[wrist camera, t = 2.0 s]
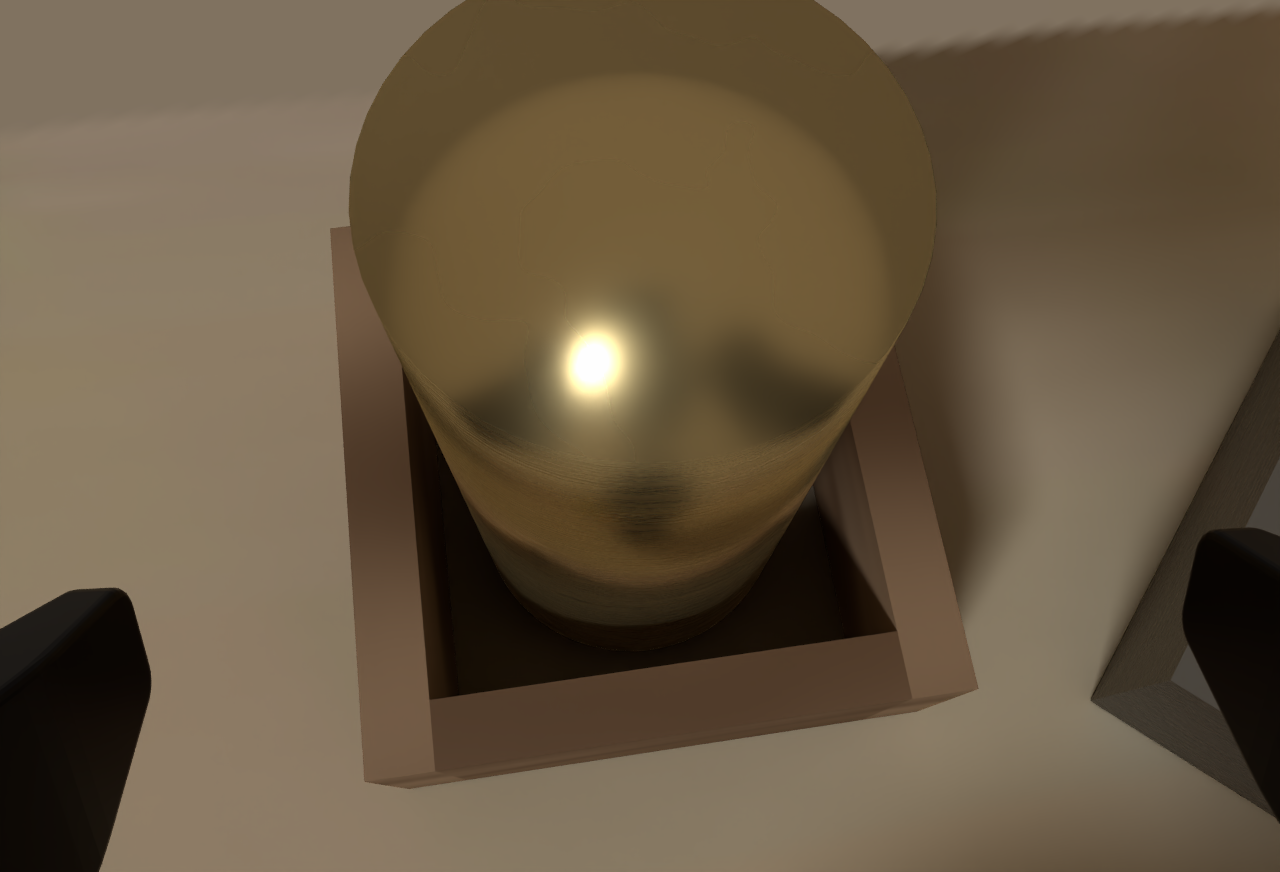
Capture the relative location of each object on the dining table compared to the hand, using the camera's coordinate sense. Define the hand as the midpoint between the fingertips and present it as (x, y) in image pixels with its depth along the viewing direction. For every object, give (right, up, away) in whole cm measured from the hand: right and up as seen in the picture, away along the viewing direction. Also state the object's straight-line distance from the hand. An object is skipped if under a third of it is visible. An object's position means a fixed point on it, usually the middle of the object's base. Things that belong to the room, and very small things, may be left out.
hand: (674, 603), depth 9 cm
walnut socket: (0, 0, +11) cm, 11 cm away
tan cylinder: (0, 0, +11) cm, 11 cm away
